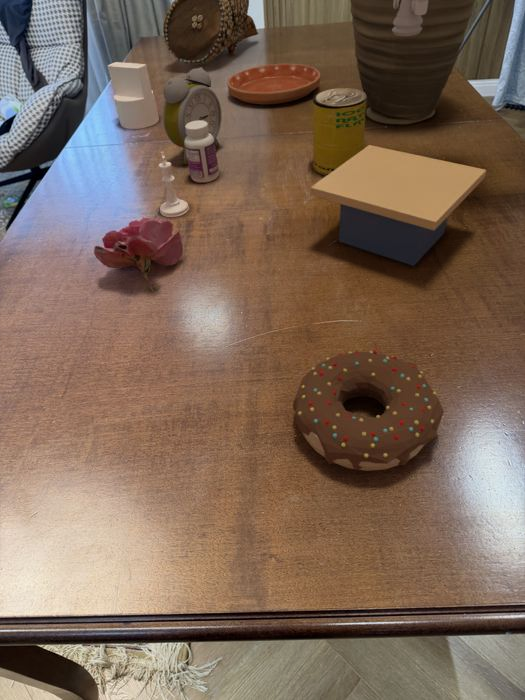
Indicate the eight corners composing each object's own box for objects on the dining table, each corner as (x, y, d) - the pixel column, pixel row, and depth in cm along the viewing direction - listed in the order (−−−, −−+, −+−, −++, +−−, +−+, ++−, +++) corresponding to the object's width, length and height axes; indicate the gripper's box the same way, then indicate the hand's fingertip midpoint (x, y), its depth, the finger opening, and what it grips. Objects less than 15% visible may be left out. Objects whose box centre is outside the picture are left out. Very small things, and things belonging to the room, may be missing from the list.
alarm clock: (188, 168, 98) (173, 84, 87) (164, 161, 101) (146, 79, 90) (227, 146, 104) (217, 65, 94) (202, 140, 107) (190, 62, 97)
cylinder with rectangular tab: (112, 126, 117) (97, 69, 109) (136, 113, 123) (123, 58, 114) (143, 131, 114) (129, 72, 105) (166, 116, 119) (155, 60, 111)
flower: (123, 277, 78) (133, 212, 76) (179, 291, 76) (191, 225, 74) (75, 277, 68) (86, 201, 66) (140, 294, 65) (152, 216, 63)
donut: (362, 509, 44) (366, 479, 41) (269, 414, 52) (266, 382, 49) (468, 427, 50) (479, 393, 46) (368, 352, 58) (372, 319, 54)
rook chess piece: (408, 38, 74) (416, -30, 68) (385, 34, 76) (390, -32, 71) (428, 31, 76) (437, -35, 70) (404, 27, 78) (411, -37, 73)
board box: (472, 229, 75) (486, 169, 68) (424, 284, 66) (435, 221, 60) (365, 200, 84) (369, 144, 77) (310, 245, 75) (310, 187, 69)
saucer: (215, 107, 122) (212, 90, 119) (247, 77, 137) (245, 62, 134) (306, 110, 115) (306, 93, 113) (329, 79, 130) (329, 63, 128)
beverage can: (370, 160, 94) (375, 91, 86) (348, 180, 89) (351, 109, 81) (328, 152, 98) (329, 85, 90) (304, 170, 93) (303, 102, 85)
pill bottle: (214, 168, 97) (207, 116, 90) (223, 179, 93) (215, 125, 86) (187, 174, 96) (177, 122, 89) (195, 186, 92) (185, 132, 85)
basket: (178, -6, 162) (136, -5, 134) (236, -50, 153) (204, -59, 125) (216, 68, 172) (184, 83, 144) (273, 31, 163) (251, 39, 135)
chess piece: (162, 219, 84) (148, 161, 77) (158, 206, 87) (144, 149, 80) (191, 213, 85) (180, 155, 78) (186, 200, 88) (175, 143, 81)
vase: (480, 126, 104) (508, -53, 80) (363, 147, 106) (358, -20, 83) (448, 74, 119) (465, -89, 96) (347, 94, 122) (339, -60, 99)
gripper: (497, -120, 58) (471, 20, 68) (402, -118, 72) (392, -2, 82) (450, -114, 57) (431, 28, 66) (363, -113, 71) (357, 4, 80)
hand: (409, 11), depth 74 cm, fingers closed on rook chess piece, 3 cm apart
